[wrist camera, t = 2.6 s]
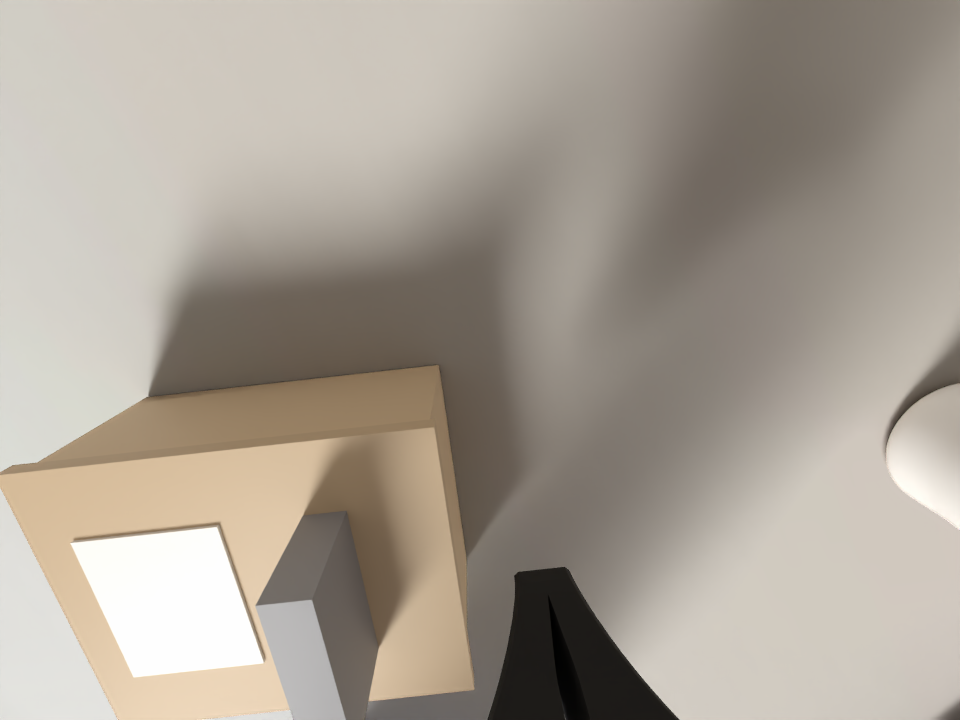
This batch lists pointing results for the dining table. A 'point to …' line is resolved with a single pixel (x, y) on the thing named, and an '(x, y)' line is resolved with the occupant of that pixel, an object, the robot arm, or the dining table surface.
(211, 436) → the wooden box
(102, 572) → the sliding lid
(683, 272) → the dining table surface
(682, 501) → the dining table surface
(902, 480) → the drinking glass
